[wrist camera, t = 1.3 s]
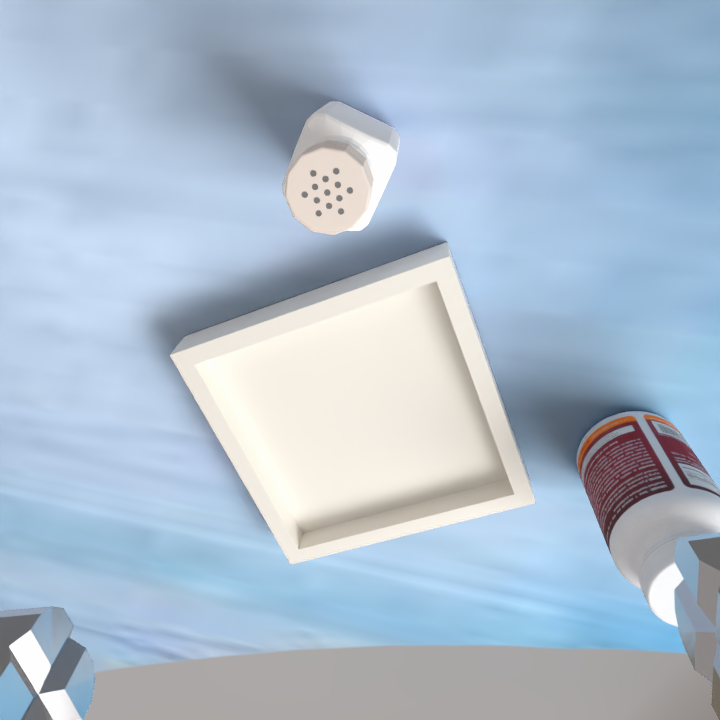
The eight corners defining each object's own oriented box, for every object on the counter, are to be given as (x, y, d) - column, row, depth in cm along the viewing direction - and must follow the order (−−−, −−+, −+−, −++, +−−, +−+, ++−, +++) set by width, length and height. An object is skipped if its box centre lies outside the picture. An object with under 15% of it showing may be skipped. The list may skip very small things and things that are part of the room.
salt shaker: (371, 205, 33) (355, 262, 24) (299, 172, 32) (258, 218, 24) (404, 131, 31) (400, 164, 23) (329, 94, 31) (296, 115, 22)
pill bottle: (573, 494, 40) (624, 643, 30) (574, 410, 37) (631, 543, 27) (677, 489, 39) (765, 639, 29) (686, 402, 36) (786, 536, 27)
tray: (447, 241, 33) (449, 256, 31) (529, 477, 40) (535, 503, 37) (184, 336, 37) (169, 355, 35) (297, 537, 43) (290, 564, 41)
